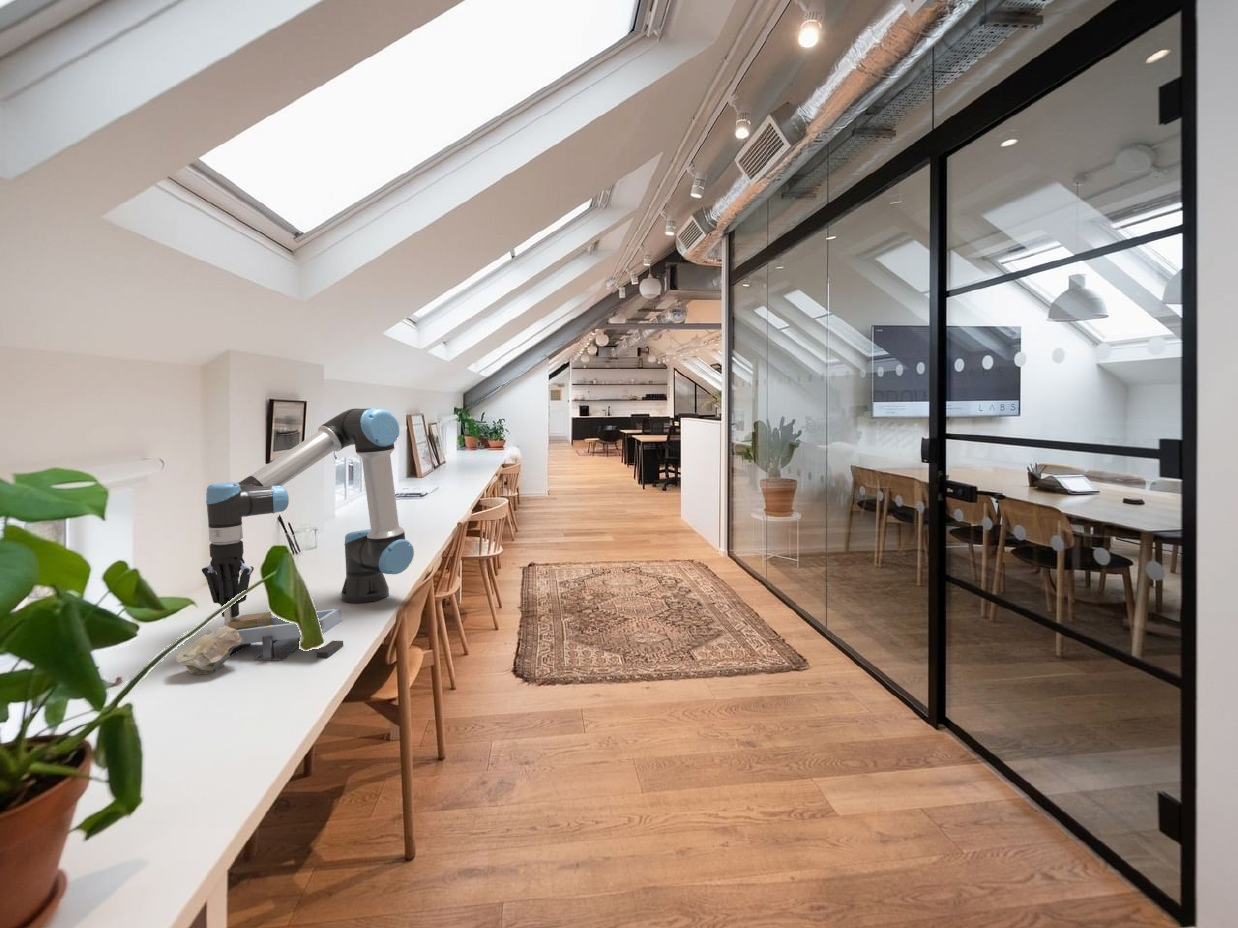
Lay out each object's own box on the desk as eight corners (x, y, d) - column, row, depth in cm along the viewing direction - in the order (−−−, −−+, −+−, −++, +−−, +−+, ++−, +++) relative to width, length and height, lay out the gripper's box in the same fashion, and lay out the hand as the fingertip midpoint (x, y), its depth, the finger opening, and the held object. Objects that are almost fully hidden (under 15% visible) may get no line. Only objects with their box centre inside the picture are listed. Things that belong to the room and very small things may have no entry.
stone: (231, 679, 147) (229, 639, 146) (165, 684, 145) (162, 642, 144) (250, 661, 158) (248, 623, 157) (188, 665, 155) (186, 626, 155)
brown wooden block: (245, 629, 168) (242, 614, 168) (273, 625, 167) (270, 611, 167) (230, 637, 162) (227, 622, 162) (259, 633, 161) (256, 618, 161)
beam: (246, 631, 171) (244, 619, 171) (343, 620, 169) (341, 606, 169) (217, 648, 159) (214, 634, 159) (321, 635, 158) (318, 621, 157)
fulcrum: (246, 640, 172) (245, 617, 172) (348, 642, 171) (347, 619, 170) (212, 659, 159) (211, 635, 158) (322, 662, 157) (321, 637, 157)
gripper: (191, 544, 160) (197, 632, 162) (240, 544, 159) (245, 633, 161) (212, 538, 167) (217, 623, 169) (259, 538, 166) (263, 623, 168)
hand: (231, 628), depth 165 cm, fingers closed
